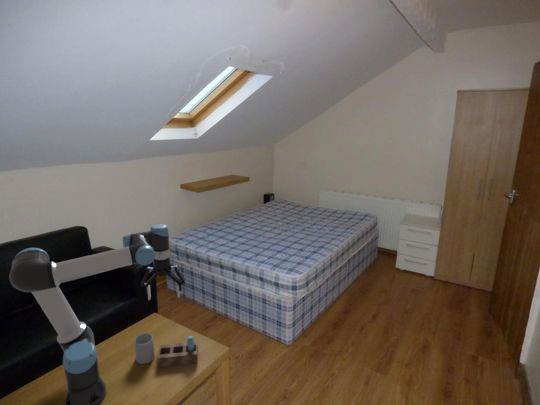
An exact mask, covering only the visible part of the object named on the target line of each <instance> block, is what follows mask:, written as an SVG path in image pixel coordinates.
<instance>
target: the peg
mask: <svg viewBox="0 0 540 405" xmlns="http://www.w3.org/2000/svg"><path fill="white" fill-rule="evenodd" d="M186 339H187V340H186V343H188V352H191V351H194V342H195V338H194V335H187V338H186Z"/></svg>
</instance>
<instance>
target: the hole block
mask: <svg viewBox="0 0 540 405" xmlns="http://www.w3.org/2000/svg"><path fill="white" fill-rule="evenodd" d="M198 344H199V343H198V341H194V351H191V352H188V343H187V342H178V343H170V344H169V343H168V344H160V345H159V348H158V353H157V367H158V368H164V367H172V366H181V365H188V364H189V365H191V364H198V360H199V359H198V357H199V355H198V353H199V347H198Z"/></svg>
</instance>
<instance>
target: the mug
mask: <svg viewBox="0 0 540 405" xmlns="http://www.w3.org/2000/svg"><path fill="white" fill-rule="evenodd" d="M133 342H134V343H133V344H134V351H135V361H136V363H138V364H140V365H143V364H144V365H146V364H149V363H150V362H152V361H153V360H154V359H155V347H154V344H155V343H154V336H153V334H152V333H150V332H143V333H140V334H139V335H137V336H136V337H134V341H133Z"/></svg>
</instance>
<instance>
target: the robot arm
mask: <svg viewBox="0 0 540 405" xmlns="http://www.w3.org/2000/svg"><path fill="white" fill-rule="evenodd" d="M169 237H170V234H169V228H168V226H167V225H166V224H163V223H161V224H160V223H159V224H154V225H152V226H151V227H150V230H149V231H144V232H137V233H130V234H126V235H125V234H124V235H123V237H122V246H123V247H120V248H117V249H113V250H107V251H103V252H99V253H94V254H91V255H85V256H81V257H77V258H72V259H68V260H63V261H60V262H55V261H51V260H50V259H51V258H50V256H49V254H48V253H47V252H46V250H44V249H42V248H40V247H28V248H24V249H23V250H21V251H19V252H18V253H17V254H16V255H15V256H14V257H13V259H12V262H11V269H10V271H9V276H8V278H9V282H10V284H11V286H12V287H13V288H15V289H16V290H18V291H20V292H24V293H31V294H32V295H33V297H34V299H35V300H36V302H37V303H38V305H39V307H41V310H42V311H43V313H44V314H45V316H46V318H47V319H48V320H49V323H50V324H51V325H52V326H53V328H54V330H55V332H56V334H58V335H57V337H56V342H57V343H58V344H59V346H60V347H61V349H62V351H63V356H62V365H63V368H64V374H65V380H66V381H65V382H66V385H67V386H66V387H67V389H66V394H65V397H64V405H99V404H101V402H102V401H104V399H105V397H106V395H107V384H106V383H105V382H104V380H103V379H102V377H101V376H100V375H101V374H100V370H99V362H98V352H97V348H96V345H95V334H94V332H93V331H92V329H91V327H89V325H87V324H86V323H85V322H84V321H80V320H79V319H78V317H77V315H76V313H75V312H74V310H73V309H72V307H71V305H70V303H69V302H68V300H67V298H66V297H65V295H64V293H63V292H62V289H61V288H60V284H63V283H65V282H66V283H67V282H70V281H75V280H78V279H81V278H85V277H89V276H93V275H97V274H101V273H104V272H108V271H113V270H116V269H119V268H124V267H127V266H131V265H136V264H139V265H140V266H147V268H146V272H145V274H144V277H143V279H142V281H141V283H140V287H144V291H145V292H144V293H145V294H147V301H150V300H151V297H152V295H151V283H153V281H154V280H155V279H156V278H157V277H166V276H167V277H169V278H171V280H173V281H174V283H176V284H177V285H176V289H177V298H178V299H180V297H181V295H180V294H181V291H182V290H183V286H182V285H185V283H186V279H185V277H184V276H183V275H182V273H181V271H180V269H179V267H178V264H175V265H171V257H170V255H171V253H170V252H171V251H170V240H169V239H170V238H169ZM152 262H153V264H152V265H153V266H152V267H151V266H148V265H151V263H152ZM171 270H173V271H174V272H175V274H174V273H173V271H171ZM152 271H153V274H152V276H150V278H149V279H148V277H149V274H150V273H152ZM147 279H148V280H147Z"/></svg>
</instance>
